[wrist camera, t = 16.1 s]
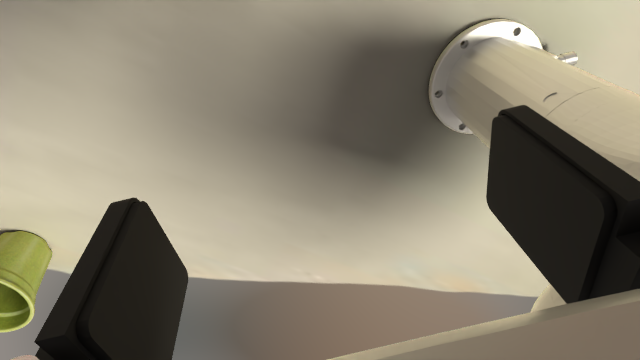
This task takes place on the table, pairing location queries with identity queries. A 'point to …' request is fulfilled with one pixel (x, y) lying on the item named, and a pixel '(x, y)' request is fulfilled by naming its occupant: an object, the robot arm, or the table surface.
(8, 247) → the plant pot
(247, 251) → the table surface
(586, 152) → the robot arm
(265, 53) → the table surface
